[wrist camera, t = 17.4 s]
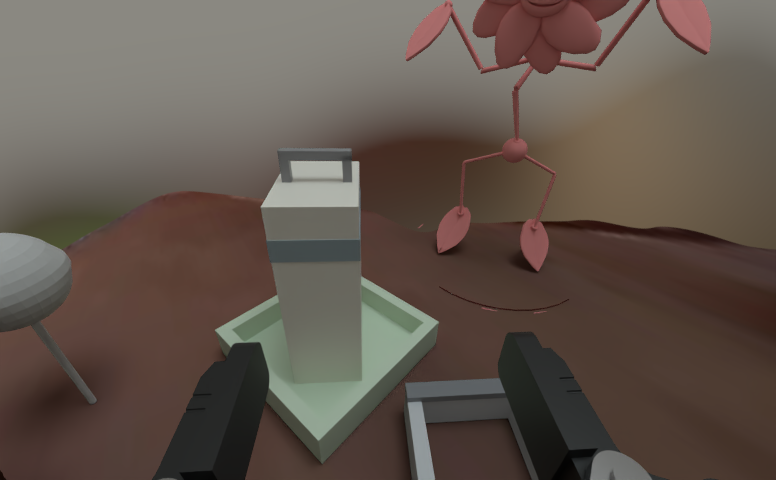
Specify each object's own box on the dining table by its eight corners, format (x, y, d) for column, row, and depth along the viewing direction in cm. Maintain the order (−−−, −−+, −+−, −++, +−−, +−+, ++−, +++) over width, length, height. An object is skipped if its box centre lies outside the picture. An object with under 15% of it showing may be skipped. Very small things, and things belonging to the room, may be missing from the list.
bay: (403, 410, 26) (405, 383, 24) (515, 404, 27) (525, 376, 25) (424, 592, 18) (430, 571, 16) (588, 575, 18) (611, 553, 17)
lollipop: (109, 359, 30) (14, 207, 22) (156, 382, 28) (71, 226, 20) (22, 423, 25) (-141, 256, 17) (72, 456, 23) (-85, 287, 15)
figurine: (406, 222, 53) (425, -78, 33) (586, 259, 45) (741, -98, 26) (368, 281, 40) (363, -138, 21) (606, 343, 33) (919, -207, 14)
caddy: (307, 313, 34) (282, 133, 24) (362, 311, 34) (359, 134, 25) (294, 384, 27) (252, 171, 18) (362, 381, 28) (358, 172, 18)
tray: (337, 282, 40) (336, 261, 38) (435, 344, 32) (438, 322, 30) (223, 353, 30) (215, 330, 29) (322, 463, 23) (318, 440, 21)
